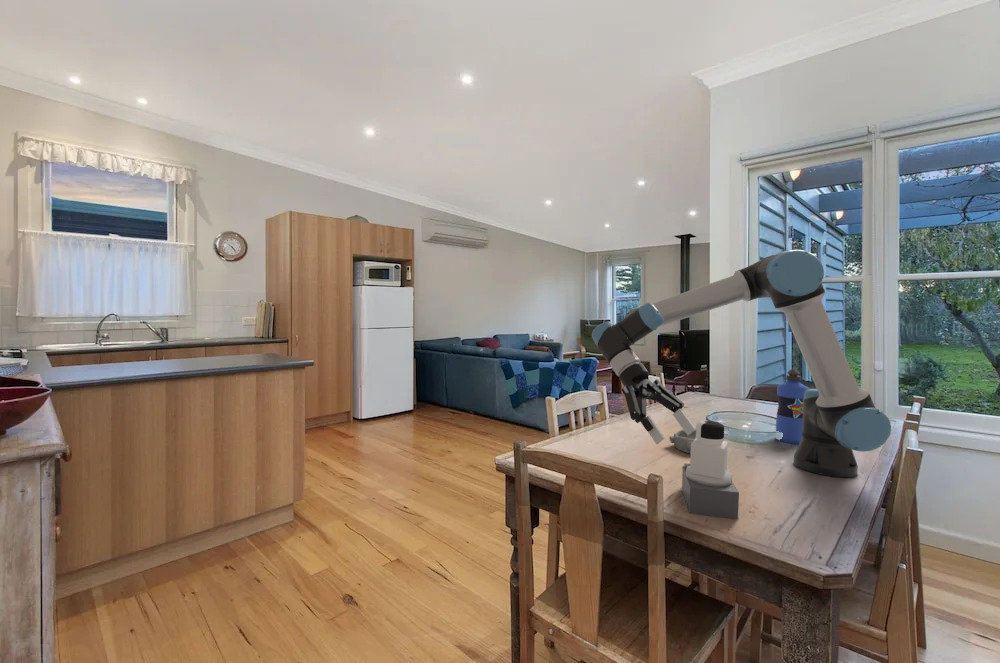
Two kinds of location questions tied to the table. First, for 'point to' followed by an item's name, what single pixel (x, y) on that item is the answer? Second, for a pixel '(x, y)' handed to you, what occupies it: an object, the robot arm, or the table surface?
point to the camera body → (710, 494)
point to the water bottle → (790, 408)
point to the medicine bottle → (709, 450)
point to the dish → (683, 440)
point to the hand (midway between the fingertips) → (677, 436)
